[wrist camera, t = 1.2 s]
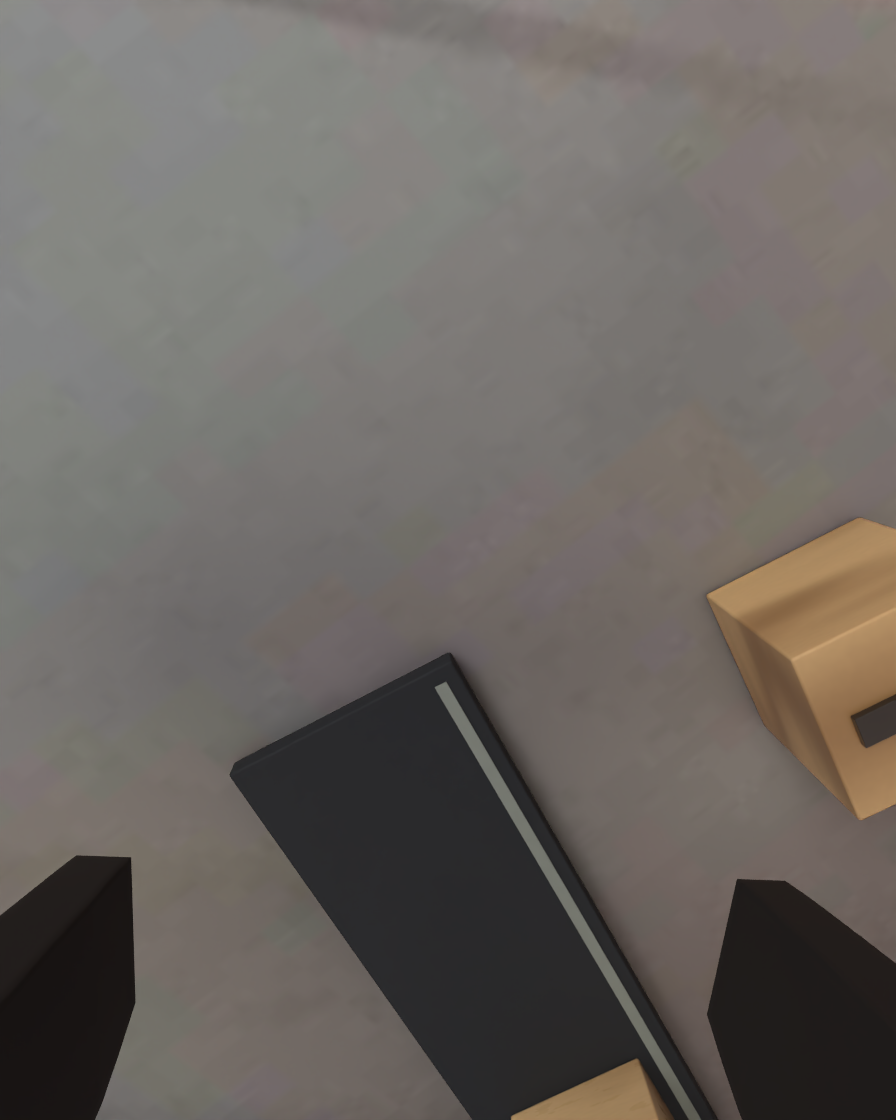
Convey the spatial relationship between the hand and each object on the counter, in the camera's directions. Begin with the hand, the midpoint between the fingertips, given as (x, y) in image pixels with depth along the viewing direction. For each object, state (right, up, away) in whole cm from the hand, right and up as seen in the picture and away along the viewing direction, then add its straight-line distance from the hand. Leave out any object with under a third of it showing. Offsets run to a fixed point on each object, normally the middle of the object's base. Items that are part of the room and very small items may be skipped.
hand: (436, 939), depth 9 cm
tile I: (+9, +3, +9) cm, 13 cm away
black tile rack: (+2, -6, +11) cm, 13 cm away
